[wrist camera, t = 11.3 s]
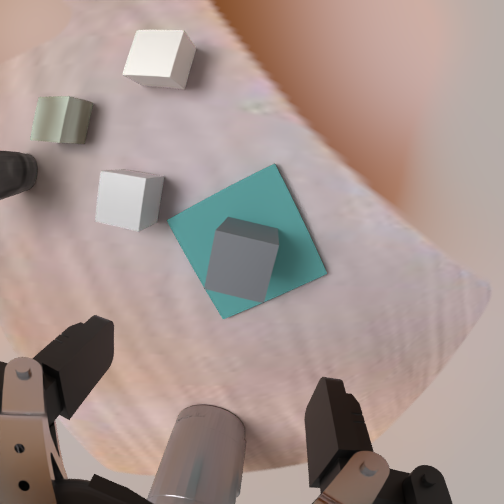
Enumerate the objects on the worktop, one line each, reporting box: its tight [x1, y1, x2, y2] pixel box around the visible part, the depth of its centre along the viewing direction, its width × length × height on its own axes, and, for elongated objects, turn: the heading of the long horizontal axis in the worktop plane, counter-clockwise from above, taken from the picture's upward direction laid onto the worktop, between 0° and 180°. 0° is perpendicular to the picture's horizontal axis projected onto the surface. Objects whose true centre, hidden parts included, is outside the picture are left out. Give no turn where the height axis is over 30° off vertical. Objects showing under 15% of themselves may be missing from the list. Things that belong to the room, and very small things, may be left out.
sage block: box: [30, 96, 93, 144], centre depth 24 cm, size 4×4×4 cm
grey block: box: [95, 169, 165, 232], centre depth 26 cm, size 4×4×4 cm
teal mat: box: [167, 164, 327, 319], centre depth 28 cm, size 11×11×1 cm
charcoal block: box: [204, 217, 279, 303], centre depth 24 cm, size 4×4×6 cm
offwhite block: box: [123, 30, 196, 90], centre depth 22 cm, size 4×4×4 cm
